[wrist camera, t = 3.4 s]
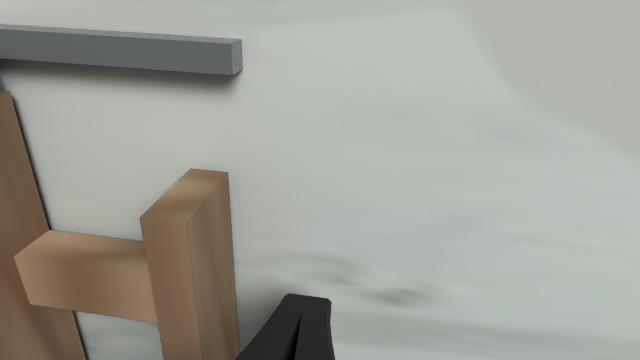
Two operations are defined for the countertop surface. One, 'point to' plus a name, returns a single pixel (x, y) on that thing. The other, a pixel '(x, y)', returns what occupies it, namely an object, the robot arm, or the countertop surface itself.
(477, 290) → the countertop surface
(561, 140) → the countertop surface
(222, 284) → the wooden frame
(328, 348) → the robot arm
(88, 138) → the countertop surface
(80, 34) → the track
